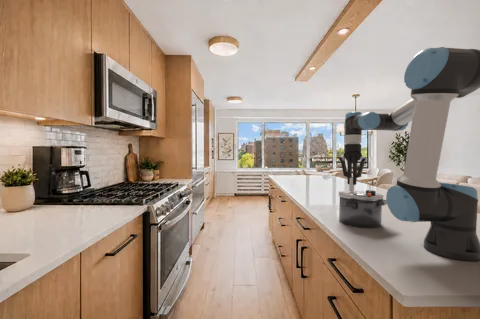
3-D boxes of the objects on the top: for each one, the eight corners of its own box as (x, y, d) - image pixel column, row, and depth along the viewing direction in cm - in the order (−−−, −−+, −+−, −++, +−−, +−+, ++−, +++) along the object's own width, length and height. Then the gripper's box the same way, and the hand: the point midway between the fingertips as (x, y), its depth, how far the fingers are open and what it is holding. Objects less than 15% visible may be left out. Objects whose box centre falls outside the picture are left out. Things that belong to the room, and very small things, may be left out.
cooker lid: (376, 202, 103) (376, 194, 102) (332, 196, 116) (332, 189, 116) (388, 197, 116) (388, 190, 116) (347, 192, 129) (347, 185, 129)
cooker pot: (377, 233, 100) (378, 204, 100) (330, 223, 114) (330, 197, 114) (391, 222, 117) (392, 197, 117) (349, 214, 131) (350, 192, 131)
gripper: (369, 143, 119) (368, 191, 120) (342, 144, 128) (341, 189, 129) (364, 143, 114) (363, 193, 114) (336, 143, 123) (335, 190, 123)
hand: (351, 191), depth 121 cm, fingers closed
